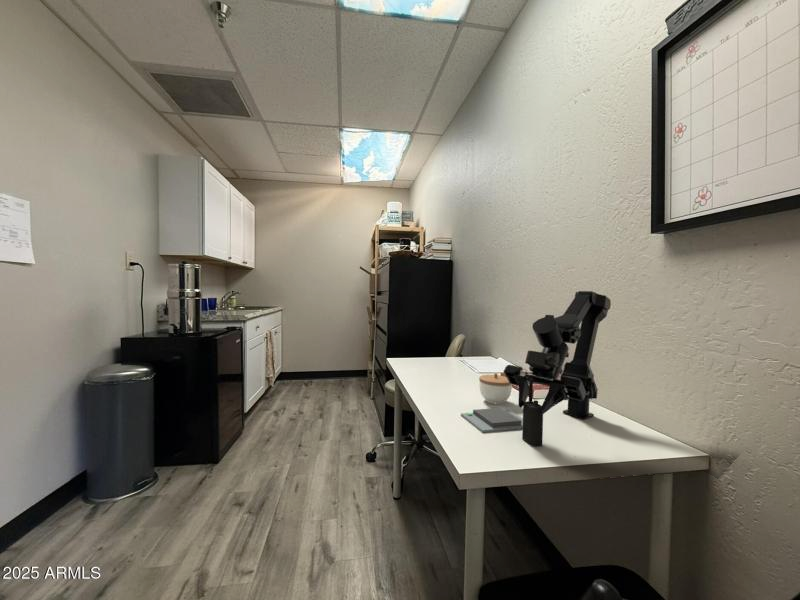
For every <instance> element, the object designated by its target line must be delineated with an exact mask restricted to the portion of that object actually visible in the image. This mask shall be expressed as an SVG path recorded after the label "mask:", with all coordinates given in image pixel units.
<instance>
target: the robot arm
mask: <svg viewBox="0 0 800 600" xmlns="http://www.w3.org/2000/svg"><path fill="white" fill-rule="evenodd" d="M611 303H612V302H611V299H610V298H609V297H608V296H606V295H604V294H599V293H597V292H596V291H593V290H590V291H589V290H585V291H584V290H579V291H576V292H575V295H574V298H573V299H572V301H571V302H570V303H569V305H568V306H567V308H566V309H565V312H564V313H563V314H562V315H559V316H556V317H555V316H554V314H545V316H544V317H541V318H539V319H537V320H535V322H533V323H532V327H531V328H532V331H533V333H534V334H535V337H536V339H537V341H538V343H539V345H540V346H541V347H543V348H542V350H541V351H536V350H527V352H526V358H525V360H524V361H525V362H524V363H525V364H527V365H529V367H528V369H529V371H530V372H532V373H528V372H526V371H525V370H524V369H523V367H522V366H519V365H512V364H507V365H506V366H505V367H504V370H503V374H504V376H505V377H507V379H508V381H509V382H510V383H511V384H512V386H517V387H518V407H519V408H520V409H521V408H522V409H523V402H526V401H527V400H528V398H529V379H533V384H536V385H542V386H546V387H549V388H548V392H547V394H546V396H545V398H544V401H543V403H542V404H541V406H542V407H541V410H540V413H541V414H543V415H545V413H547V412H548V411H549V410H551V409H552V408H553V407H555V406H557V405H558V404H560V403H562V402H563V401H567V409H565V410H562V413H563V414H566V415H568V416H571V417H574V418H578V419H581V420H586V419H589V418H591V417H594V416H595V414H594V413H593V412H590V400H593V399H594V400H595V399H596V400H597V399H598V390H599V389H598V386H597V384H596V382H595V378H594V377H595V376H594V375H595V374H594V372H593V370H592V368H591V366H590V365H591V361H592V357H593V351H594V347H595V344H596V343H595V342H596V339H597V334H598V328H599V324H600V323H601V322H602V321H603V320H604V319H606V318H607V315H608V312H609V310H610V309H611V307H612V306H611V305H612V304H611ZM575 343H576V344H575ZM568 344H571V345H572V344H575V345H576V346H575V350H574V353H573V357H572V360H570V361H569V362H568V361H566V358H569V355H570V353H569V349H570V348H569V346H568ZM565 361H566V362H565ZM564 362H565V364H564ZM563 365H564V367H563ZM562 367H563V368H562ZM560 374H561V375H560ZM559 376H560V379H558V377H559Z"/></svg>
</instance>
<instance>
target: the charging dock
mask: <svg viewBox="0 0 800 600" xmlns="http://www.w3.org/2000/svg"><path fill="white" fill-rule="evenodd" d="M460 416H461V418H463V419H465V421H467V422H469V424H471V425H472V426H473V427H475V428H476V429H477V430H478V431H479V432H481V433H492V432H493V433H494V432H502V431H513V430H514V429H515V430H521V429H522V430H523V417H521V416H519V415H518V414H516V413H514V412H512V411H510V410H509V409H502V407H494V408H481V409H472V412H464V413H463V412H462V413H460Z"/></svg>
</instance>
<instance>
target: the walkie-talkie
mask: <svg viewBox="0 0 800 600" xmlns="http://www.w3.org/2000/svg"><path fill="white" fill-rule="evenodd" d="M533 384H534V383H533V379H529V395H528V401H527V400H526V401H525V402H523V406H522V418H523V429H522V440H523V441H525V442H526V443H527V444H528V445H530V446H531V447H540V446H543V439H544V438H543V435H544V434H543V433H544V432H543V430H544V428H543V427H544V414H541V413H540V410H541V407H542V404H539V401H538V400H537V399H536V400H533V391H534V388H533V386H534V385H533Z"/></svg>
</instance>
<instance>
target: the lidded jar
mask: <svg viewBox="0 0 800 600" xmlns="http://www.w3.org/2000/svg"><path fill="white" fill-rule="evenodd" d="M478 379H479V383H478V384H479V391H480V395H481V397H482V398H483V399H484V401H485V400H486V401H487V403H488V402H490V403H489V404H492V403H496V404H495V405H502V404H501V403H503V404H505V402H506V401H507V400H508V399H510V396H511V394H512V389H513V388H512V387H513V384H511V383H510V382H509V381H508V379H507V377H506V375H499V374H498V373H497V372H496V373H493V374H482V375H479V377H478ZM486 401H485V402H486Z"/></svg>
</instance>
